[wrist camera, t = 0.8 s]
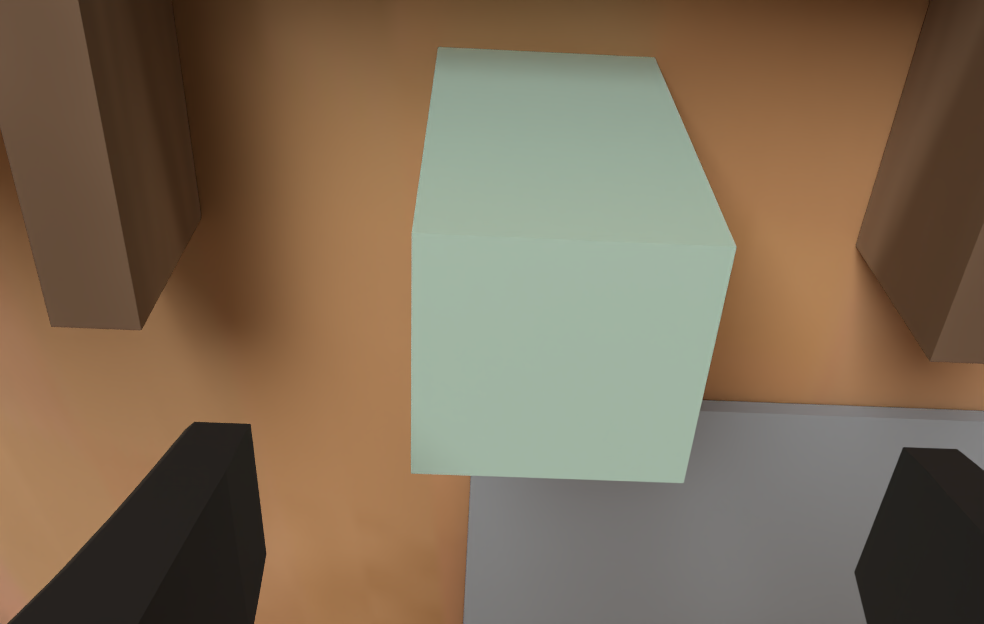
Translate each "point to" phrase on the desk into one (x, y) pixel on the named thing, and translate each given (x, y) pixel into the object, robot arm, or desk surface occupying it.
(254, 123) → the desk surface
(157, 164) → the walnut cubby
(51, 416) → the desk surface
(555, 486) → the slate mat
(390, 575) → the desk surface
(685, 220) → the sage block
